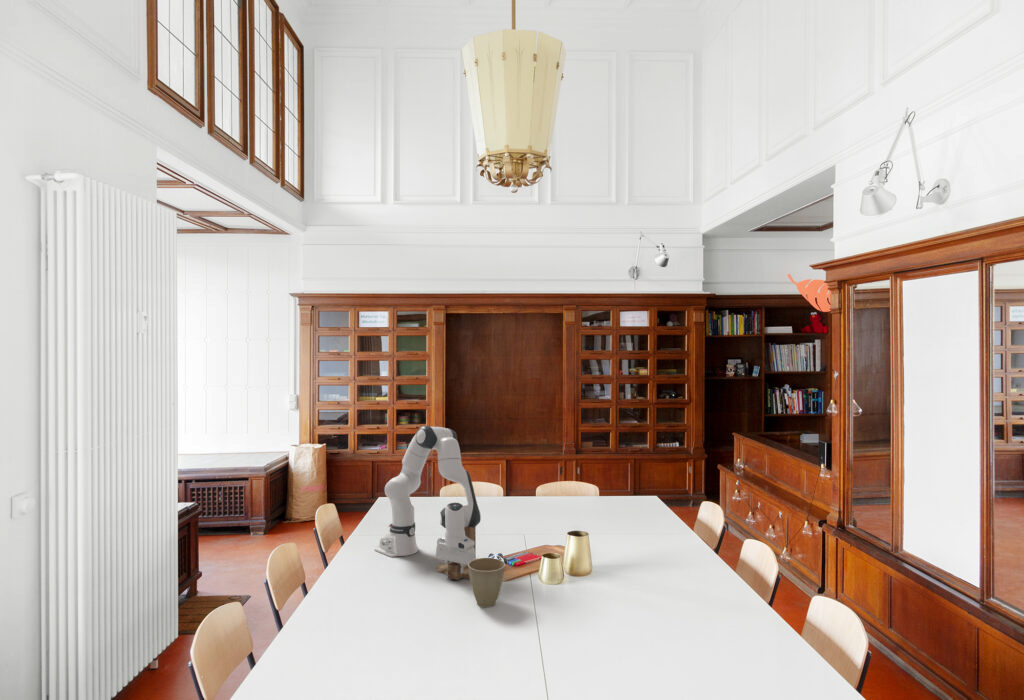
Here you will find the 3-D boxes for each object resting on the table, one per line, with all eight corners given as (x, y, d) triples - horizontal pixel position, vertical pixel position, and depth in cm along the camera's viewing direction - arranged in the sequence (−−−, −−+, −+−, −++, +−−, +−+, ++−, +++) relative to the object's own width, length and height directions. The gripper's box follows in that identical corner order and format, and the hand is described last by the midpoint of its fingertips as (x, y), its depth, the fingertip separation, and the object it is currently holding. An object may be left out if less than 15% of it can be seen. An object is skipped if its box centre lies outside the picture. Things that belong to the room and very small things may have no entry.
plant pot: (477, 614, 233) (477, 573, 233) (462, 600, 247) (462, 561, 246) (511, 606, 240) (511, 566, 240) (495, 593, 253) (495, 555, 253)
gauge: (447, 577, 268) (447, 564, 268) (464, 568, 279) (464, 555, 279) (456, 580, 266) (456, 566, 266) (473, 570, 276) (473, 557, 276)
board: (436, 570, 279) (436, 566, 279) (448, 564, 286) (448, 560, 286) (478, 581, 266) (478, 577, 266) (490, 574, 274) (490, 570, 274)
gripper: (432, 538, 272) (433, 569, 272) (469, 546, 261) (469, 578, 261) (441, 535, 277) (441, 565, 277) (477, 542, 266) (478, 573, 266)
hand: (455, 571), depth 269 cm, fingers closed on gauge, 5 cm apart
